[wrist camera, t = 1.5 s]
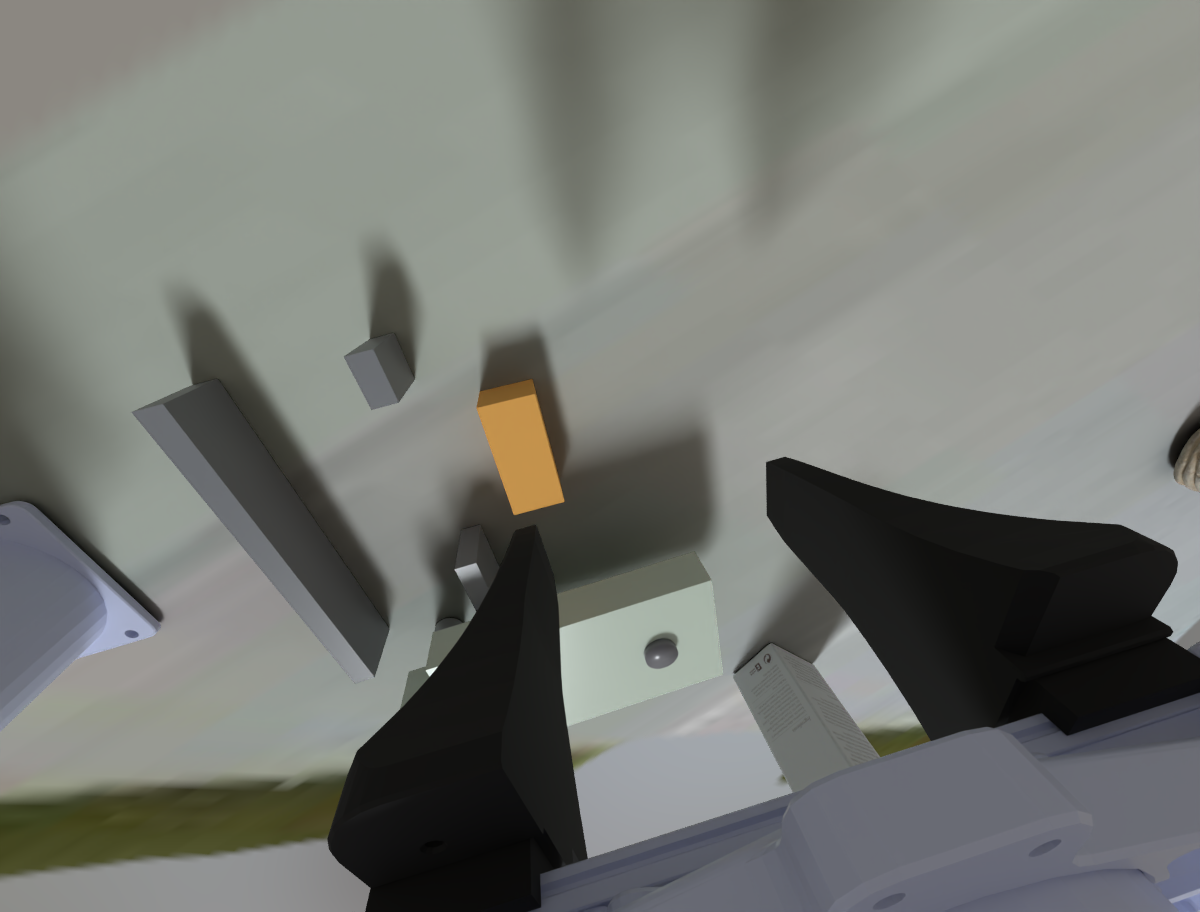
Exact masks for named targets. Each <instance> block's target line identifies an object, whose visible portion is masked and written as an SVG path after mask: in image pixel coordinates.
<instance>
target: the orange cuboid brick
mask: <svg viewBox="0 0 1200 912" xmlns="http://www.w3.org/2000/svg"><path fill="white" fill-rule="evenodd" d="M477 411H478V414H479V417H480V419H481V422H482V425H483V428H484V431H485V434H486V437H487V439H488V442H489V445H490V448H491V451H492V454H493V457H494V459H495V462H496V465H497V468H498V471H499V474H500V477H501V479H502V482H503V485H504V488H505V491H506V494H507V496H508V499H509V502H510V505H511V508H512V511H513V514H514V515H517V514H521V513H524V512H528V511H532V510H536V509H539V508H543V507H547V506H551V505H554V504H558V503H562V502H565V501H564V497H563V492H562V488H561V483H560V479H559V475H558V471H557V468H556V464H555V460H554V456H553V453H552V449H551V445H550V442H549V438H548V434H547V431H546V427H545V423H544V420H543V416H542V412H541V409H540V405H539V401H538V398H537V394H536V390H535V387H534V383H533V379H530V380H526V381H521V382H517V383H513V384H509V385H505V386H500V387H496V388H492V389H488V390H484V391H480V393H479V398H478V403H477Z"/></svg>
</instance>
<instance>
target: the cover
mask: <svg viewBox="0 0 1200 912" xmlns="http://www.w3.org/2000/svg"><path fill="white" fill-rule="evenodd" d="M557 598H558V605H559V626H560V652H561V678H562V690H563V699H564V706H565V714H566V721H567V726H570V725H573V724H576V723H579V722H582V721H585V720H588V719H591V718H594V717H597V716H600V715H603V714H606V713H609V712H612V711H615V710H618V709H621V708H624V707H627V706H631V705H634V704H637V703H640V702H643V701H646V700H649V699H652V698H655V697H658V696H661V695H664V694H667V693H670V692H673V691H676V690H679V689H682V688H685V687H688V686H691V685H694V684H697V683H700V682H703V681H706V680H709V679H712V678H715V677H718V676H721V675H723V669H722V661H721V652H720V644H719V636H718V628H717V619H716V611H715V603H714V595H713V586H712V580H711V578H710V576H709V575H708V573H707V571H706V570H705V568H704V566H703V565H702V563H701V561H700V560H699V558H698V556H697V555H696V553H695V551H694V552H691V553H688V554H685V555H681V556H678V557H675V558H672V559H668V560H665V561H662V562H659V563H656V564H652V565H649V566H646V567H643V568H639V569H636V570H633V571H630V572H627V573H623V574H620V575H617V576H614V577H610V578H607V579H604V580H601V581H597V582H594V583H591V584H588V585H585V586H581V587H578V588H575V589H572V590H568V591H565V592H562V593H559V594H557ZM470 622H471V621H468V622H465V623H462V622H461V621H460V620H458V619H454V618H447V619H443V620H441V621H439V622H438V623H437V624H436V627H435V631H434V632H433V635H432V640H431V645H430V650H429V655H428V660H427V665H426V667H422V668H419V669H416V670H413V671H410V672H409V674H408V678H407V683H406V687H405V691H404V695H403V700H402V704H401V708H402V707H403V706H404V705H405V704H406V703H407V701H408V700H409V699H410V698H411V697H412V696H413V695H414V694H415V693H416V692H417V691H418V689H419V688H420V687H421V686H422V685H423V684H424V683H425V681H426V680H427V679H428V678H429V677H430V676H431V675H432V673H433V672H434V671H435V670H436V668H437V667H438V666H439V665H440V663H441V662H442V661H443V659H444V658H445V657H446V656H447V654H448V653H449V652H450V650H451V649H452V648H453V646H454V645H455V644H456V642H457V641H458V640H459V638H460V637H461V635H462V634H463V632H464V631H465V629H466V628H467V626H468V625H469V623H470ZM401 708H400V709H401Z"/></svg>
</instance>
